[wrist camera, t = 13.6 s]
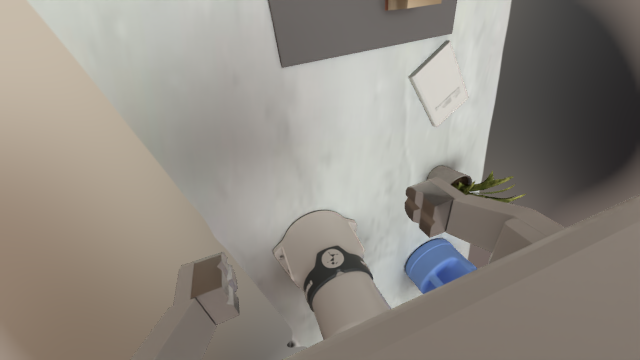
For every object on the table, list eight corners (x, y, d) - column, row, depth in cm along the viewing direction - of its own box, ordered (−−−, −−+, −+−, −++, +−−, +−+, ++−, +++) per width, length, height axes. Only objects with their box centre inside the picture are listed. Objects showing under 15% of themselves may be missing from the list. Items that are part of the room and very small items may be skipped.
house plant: (453, 196, 63) (516, 241, 50) (408, 210, 59) (462, 262, 46) (469, 146, 55) (548, 182, 42) (417, 158, 51) (486, 203, 38)
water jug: (457, 241, 75) (558, 331, 53) (426, 276, 80) (507, 373, 58) (426, 233, 67) (531, 336, 45) (394, 273, 72) (474, 384, 50)
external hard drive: (443, 40, 40) (463, 95, 48) (406, 76, 41) (430, 125, 49) (451, 40, 39) (470, 97, 46) (412, 77, 40) (436, 128, 47)
